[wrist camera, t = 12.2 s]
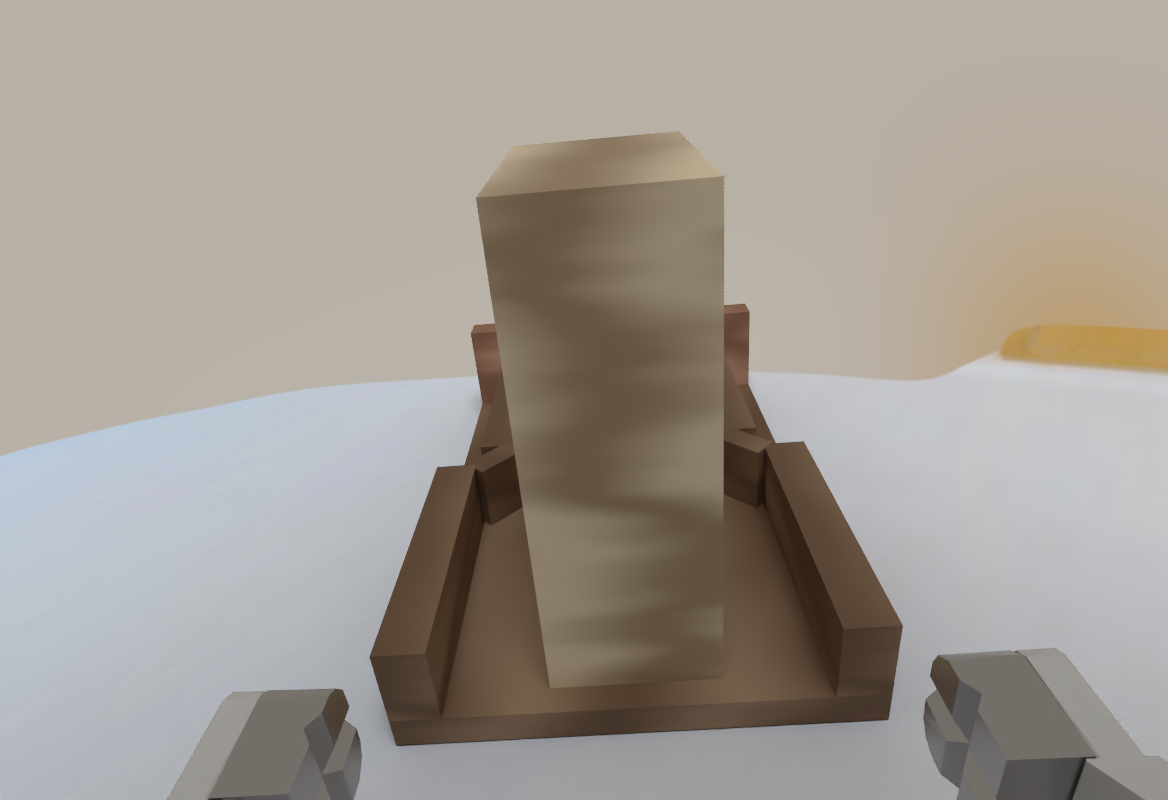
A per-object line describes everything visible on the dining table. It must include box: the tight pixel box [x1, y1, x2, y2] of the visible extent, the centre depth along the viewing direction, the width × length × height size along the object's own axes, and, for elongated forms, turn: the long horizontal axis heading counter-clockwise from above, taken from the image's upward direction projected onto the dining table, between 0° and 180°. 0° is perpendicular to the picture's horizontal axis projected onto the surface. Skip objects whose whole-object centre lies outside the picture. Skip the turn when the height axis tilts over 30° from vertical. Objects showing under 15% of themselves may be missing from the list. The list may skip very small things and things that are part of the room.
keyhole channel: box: [370, 304, 903, 745], centre depth 29 cm, size 14×21×5 cm, turn 0°
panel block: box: [476, 132, 724, 688], centre depth 21 cm, size 5×8×14 cm, turn 0°
